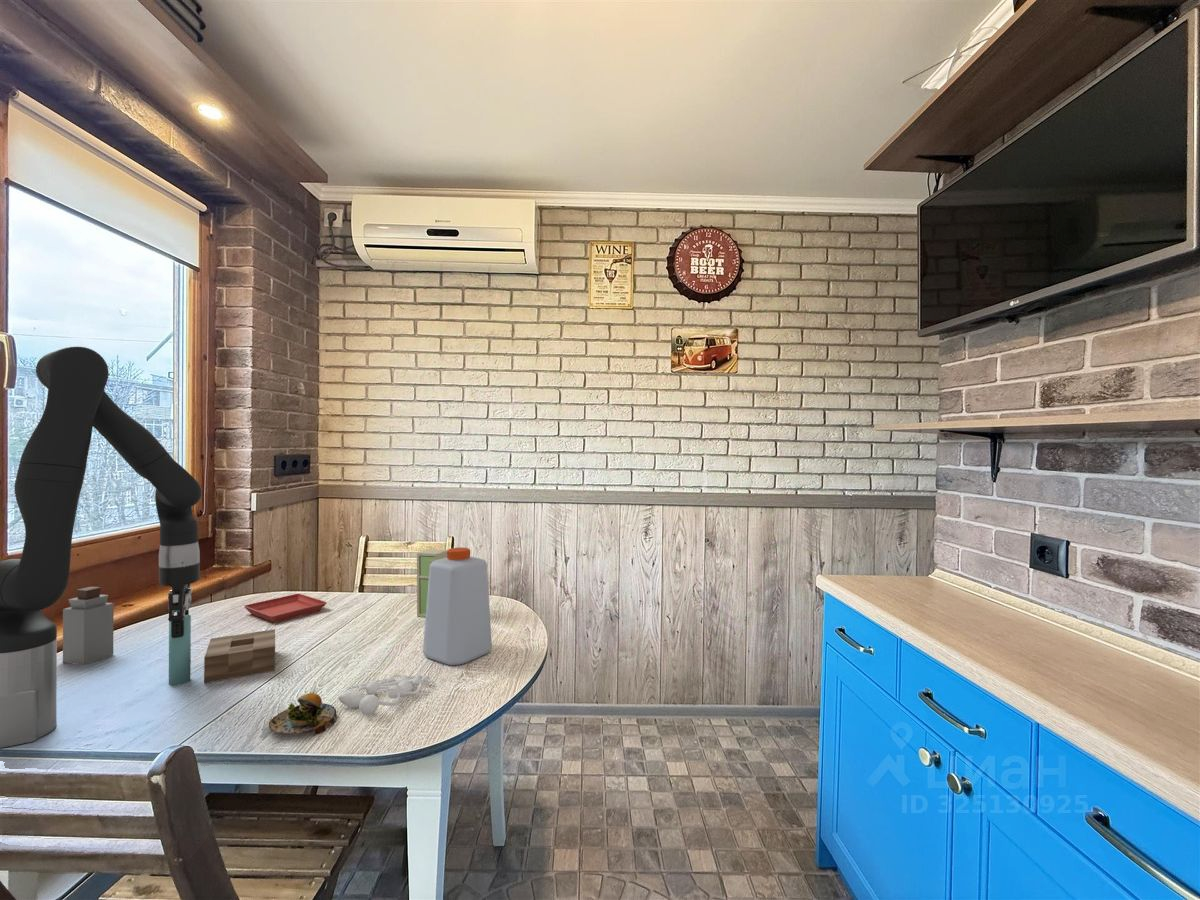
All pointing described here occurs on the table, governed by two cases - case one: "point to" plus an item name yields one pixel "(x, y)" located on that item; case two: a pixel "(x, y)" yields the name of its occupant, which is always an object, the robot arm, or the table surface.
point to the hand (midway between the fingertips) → (180, 631)
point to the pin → (180, 655)
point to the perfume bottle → (88, 627)
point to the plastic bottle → (457, 609)
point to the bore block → (239, 656)
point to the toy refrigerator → (425, 576)
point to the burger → (304, 716)
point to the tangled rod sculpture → (370, 701)
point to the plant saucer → (285, 607)
